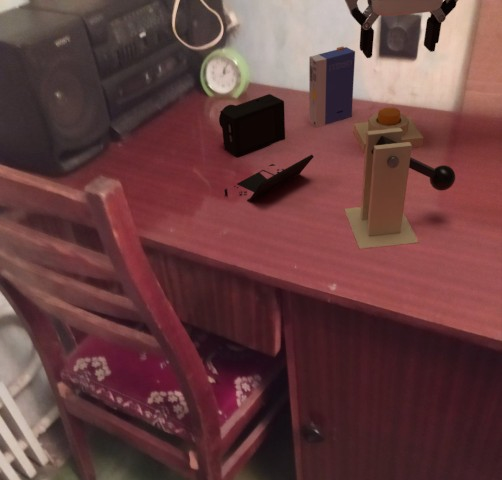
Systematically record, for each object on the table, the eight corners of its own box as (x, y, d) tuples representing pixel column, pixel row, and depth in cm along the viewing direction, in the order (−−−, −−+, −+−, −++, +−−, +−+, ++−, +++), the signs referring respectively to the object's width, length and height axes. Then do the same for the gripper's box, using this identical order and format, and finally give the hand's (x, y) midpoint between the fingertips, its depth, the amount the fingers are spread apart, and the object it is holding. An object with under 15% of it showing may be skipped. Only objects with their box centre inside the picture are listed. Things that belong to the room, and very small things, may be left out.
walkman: (343, 112, 110) (346, 44, 102) (351, 117, 109) (355, 49, 100) (307, 122, 108) (307, 54, 100) (315, 128, 106) (316, 59, 98)
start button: (396, 116, 100) (397, 106, 99) (401, 125, 98) (403, 115, 97) (375, 118, 100) (376, 108, 99) (380, 127, 98) (381, 117, 97)
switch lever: (440, 186, 79) (455, 166, 78) (447, 198, 77) (463, 178, 75) (368, 152, 75) (382, 130, 73) (374, 164, 73) (389, 142, 71)
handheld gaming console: (261, 156, 96) (286, 120, 87) (292, 187, 97) (320, 155, 88) (218, 196, 91) (240, 163, 82) (251, 229, 92) (277, 199, 83)
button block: (408, 126, 104) (411, 107, 102) (422, 147, 99) (425, 127, 96) (353, 132, 104) (354, 113, 102) (363, 153, 98) (364, 133, 96)
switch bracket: (398, 209, 85) (409, 117, 76) (418, 249, 78) (433, 153, 69) (343, 215, 85) (348, 124, 76) (358, 255, 78) (365, 160, 69)
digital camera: (267, 129, 107) (266, 90, 103) (285, 139, 104) (284, 100, 99) (220, 147, 104) (216, 108, 99) (237, 157, 100) (233, 118, 95)
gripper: (355, -74, 74) (347, 66, 86) (488, -86, 75) (462, 54, 87) (342, -84, 80) (336, 49, 91) (466, -95, 80) (444, 38, 92)
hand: (397, 51), depth 89 cm, fingers open, 9 cm apart
